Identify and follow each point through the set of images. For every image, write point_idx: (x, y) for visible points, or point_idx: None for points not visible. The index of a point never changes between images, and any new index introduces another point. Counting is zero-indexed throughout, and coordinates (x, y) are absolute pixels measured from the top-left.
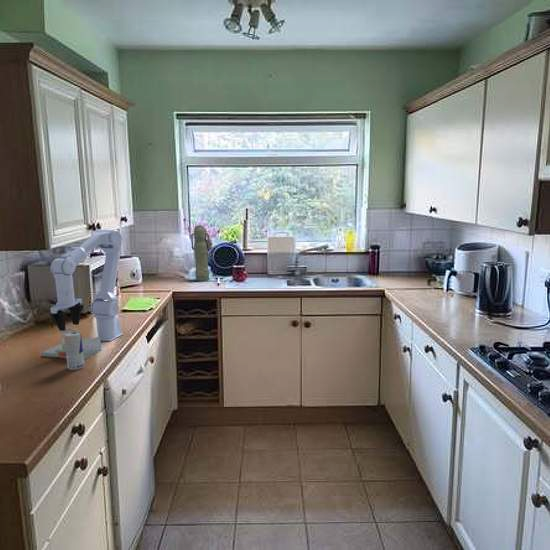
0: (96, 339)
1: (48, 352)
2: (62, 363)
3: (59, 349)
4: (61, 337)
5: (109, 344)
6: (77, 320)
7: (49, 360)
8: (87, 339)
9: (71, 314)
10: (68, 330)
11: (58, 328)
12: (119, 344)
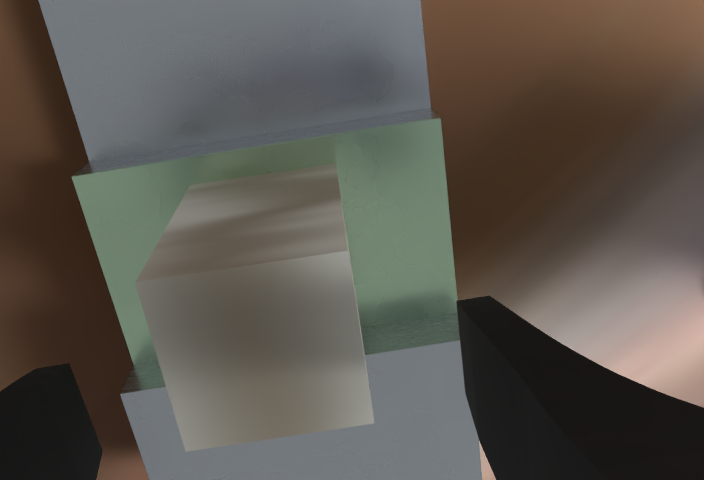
0: (456, 477)
1: (65, 39)
2: (29, 350)
3: (103, 228)
4: (163, 233)
5: (635, 353)
6: (492, 452)
7: (5, 158)
8: (424, 391)
9: (537, 412)
10: (232, 371)
11: (5, 392)
12: None
